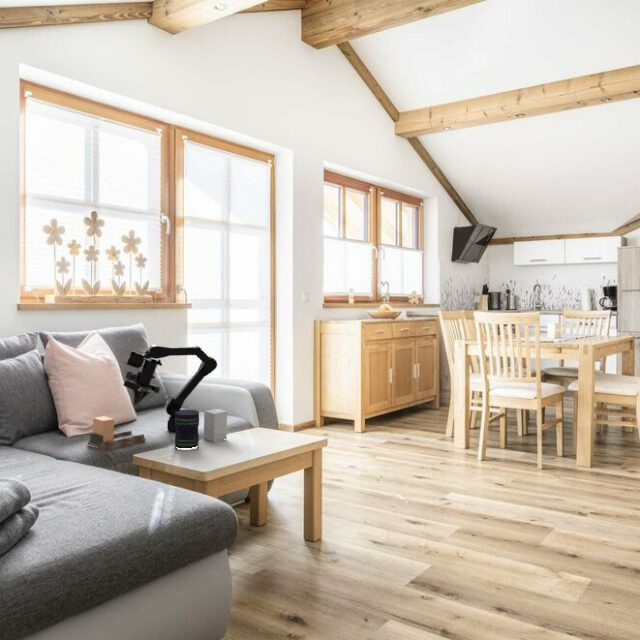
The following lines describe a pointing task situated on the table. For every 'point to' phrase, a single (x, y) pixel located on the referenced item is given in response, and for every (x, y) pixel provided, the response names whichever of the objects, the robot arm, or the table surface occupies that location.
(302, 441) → the table surface
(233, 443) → the table surface
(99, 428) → the terracotta block
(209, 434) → the supplement box
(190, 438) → the storage jar
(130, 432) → the walnut chute
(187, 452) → the table surface
